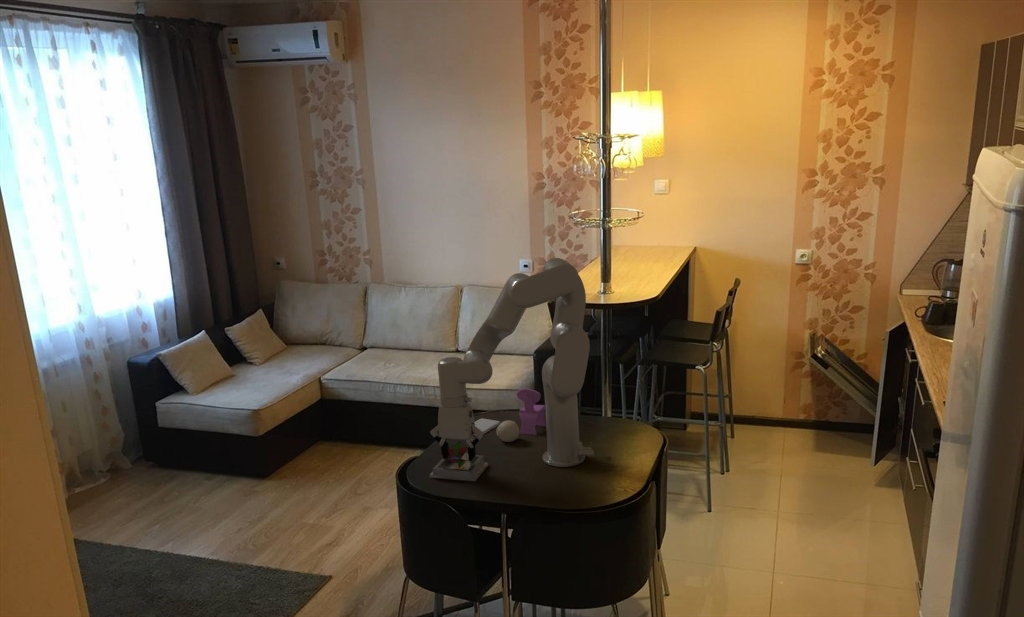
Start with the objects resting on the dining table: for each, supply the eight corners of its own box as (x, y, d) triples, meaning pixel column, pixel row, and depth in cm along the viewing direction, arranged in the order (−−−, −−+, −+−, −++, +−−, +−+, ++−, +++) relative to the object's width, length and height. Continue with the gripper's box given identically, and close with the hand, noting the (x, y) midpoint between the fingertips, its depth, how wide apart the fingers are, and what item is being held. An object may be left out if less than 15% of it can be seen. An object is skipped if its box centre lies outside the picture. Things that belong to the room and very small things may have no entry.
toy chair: (549, 425, 260) (547, 382, 257) (539, 435, 253) (537, 391, 250) (526, 423, 264) (524, 381, 261) (516, 432, 256) (513, 389, 253)
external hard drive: (500, 425, 265) (479, 438, 255) (480, 422, 269) (459, 434, 259) (500, 421, 265) (479, 433, 254) (480, 418, 269) (458, 429, 259)
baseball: (498, 437, 253) (497, 417, 252) (521, 437, 252) (520, 417, 251) (495, 445, 247) (493, 425, 246) (518, 445, 246) (516, 425, 244)
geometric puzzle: (437, 457, 226) (454, 442, 223) (448, 448, 233) (465, 433, 229) (453, 476, 226) (471, 461, 222) (464, 467, 232) (481, 452, 229)
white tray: (488, 465, 232) (487, 455, 231) (475, 481, 221) (474, 471, 220) (444, 462, 236) (443, 452, 235) (429, 478, 225) (428, 468, 225)
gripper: (486, 397, 225) (491, 454, 229) (431, 395, 230) (436, 451, 234) (477, 406, 218) (482, 465, 222) (420, 403, 223) (426, 461, 227)
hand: (458, 457), depth 228 cm, fingers closed on geometric puzzle, 7 cm apart
